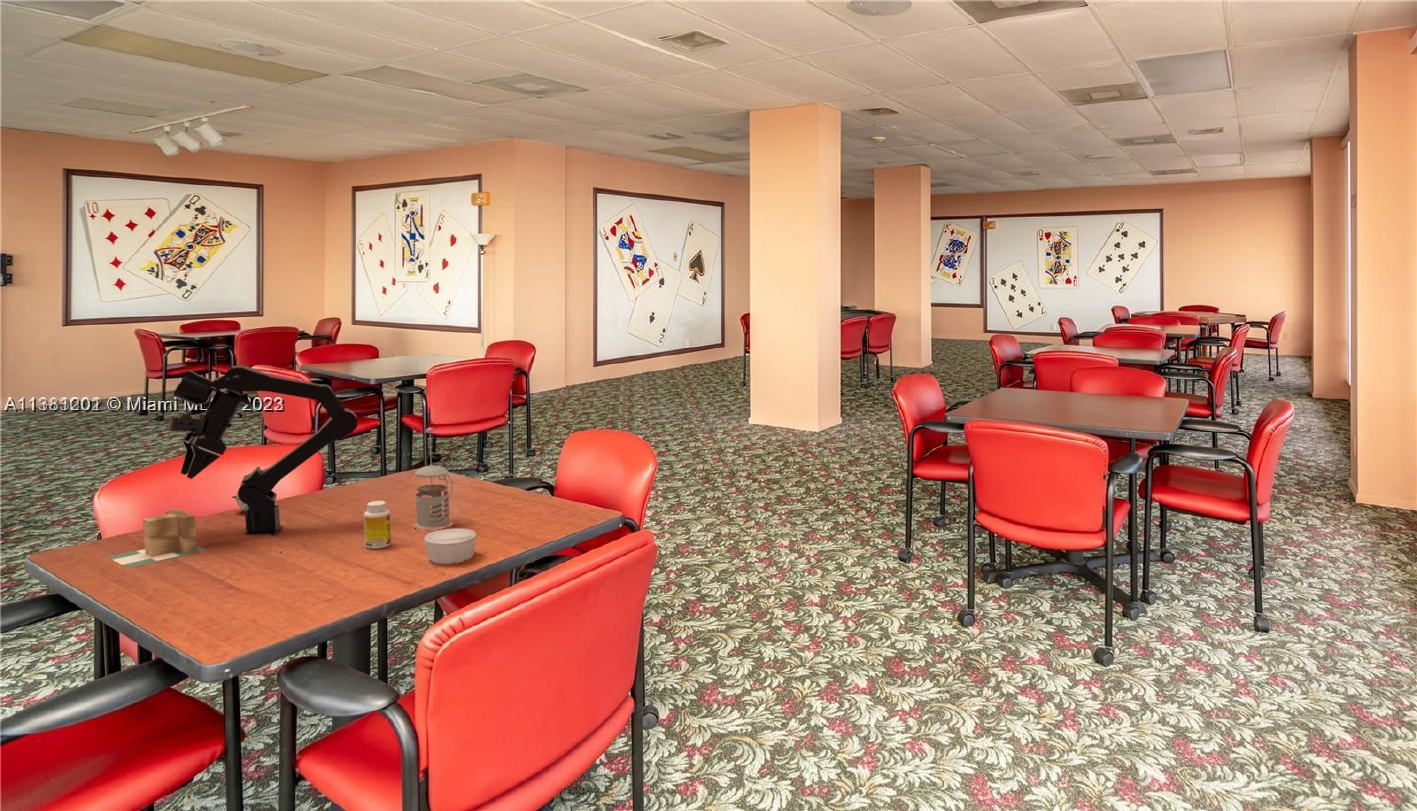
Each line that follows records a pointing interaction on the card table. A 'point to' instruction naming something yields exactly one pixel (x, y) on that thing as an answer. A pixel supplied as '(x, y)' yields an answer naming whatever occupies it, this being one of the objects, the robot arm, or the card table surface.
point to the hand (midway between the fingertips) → (185, 476)
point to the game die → (241, 504)
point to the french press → (424, 503)
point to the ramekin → (450, 545)
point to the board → (146, 557)
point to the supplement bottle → (377, 525)
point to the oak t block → (169, 533)
